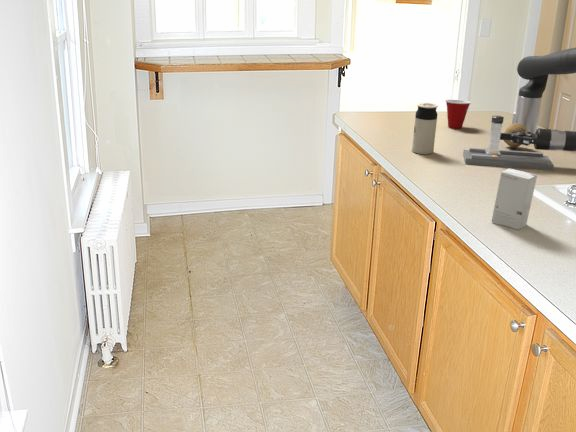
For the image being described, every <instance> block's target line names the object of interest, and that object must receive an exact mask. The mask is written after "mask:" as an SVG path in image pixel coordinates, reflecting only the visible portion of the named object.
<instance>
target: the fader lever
mask: <svg viewBox="0 0 576 432" xmlns="http://www.w3.org/2000/svg"><path fill="white" fill-rule="evenodd" d="M504 119H505V116H501V115H492V116H491V120H490V121H491V128H490V134H489V141H488V147H487V148H484V149H485V152H484V153H485V155H497V156H501V154H500V152H499V150H500V149H499V148H500V141H501V140H500V135H501V133H502V127H503V123H504ZM486 149H488V150H486Z"/></svg>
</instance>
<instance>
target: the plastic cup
mask: <svg viewBox="0 0 576 432" xmlns="http://www.w3.org/2000/svg"><path fill="white" fill-rule="evenodd" d="M444 101H445V104H446V111H447V113H446V114H447V115H446V116H447V126H448V127H447V128H449V129H451V128H452V129H453V130H461V129H462V127H463V125H464V122H465V120H466V119H465V118H466V117H467V112H468V109H469V107H470V105H471V104H472V102H471V101H468V100H461V99H445V100H444Z"/></svg>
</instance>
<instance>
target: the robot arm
mask: <svg viewBox="0 0 576 432" xmlns="http://www.w3.org/2000/svg"><path fill="white" fill-rule="evenodd" d="M516 68H517V69H516V71H517V74H518V75H519V77H521V78H522V79H523V80H527V81H528V82H527V83H526V84H525V85H523V86H522V87H520V88H519V90H518V95H517V102H516V107H515V112H513V115H512V121H511V122H512V123H511V125H512V124H514V123H519V124H522V125H523V126H525V128H526V129H527V132H525V131H515V132H512V133H511V134H510V133H504V132H501V135H500V141H504V140H510V141H512V142H513V143H517V144H522V145H523V146H525V147H526V146H531V145H533V147H534V150H538V151H539V150H540V151H551V152H553V151H554V152H555V151H556V152H559V151H564V152H576V131H572V130H562V129H554V128H540V127H539V128H538V123H539V119H540V111H541V106H542V100H543V96H544V95H543V94H544V93H545V90H546V87H547V84H548V79H549V75H553V76H554V75H571V74H576V47H573V48H572V47H571V48H567V49H562V50H560V51H556V52H552V53H549V54H545V55H529V56H524V57H523V58H522V59H521V60H520V61H518V64H517V66H516ZM522 145H521V146H522Z"/></svg>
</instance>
